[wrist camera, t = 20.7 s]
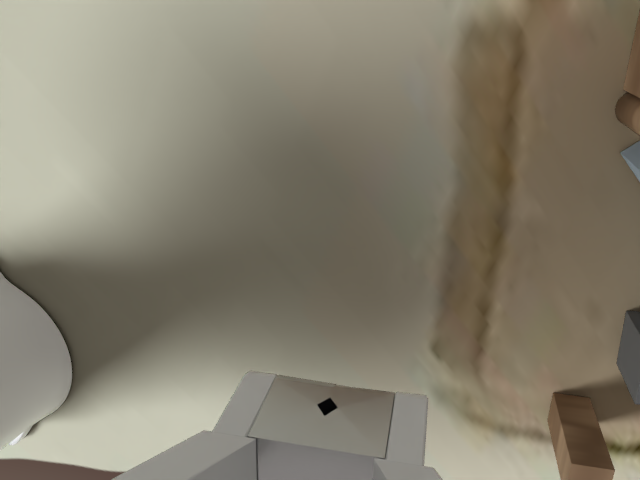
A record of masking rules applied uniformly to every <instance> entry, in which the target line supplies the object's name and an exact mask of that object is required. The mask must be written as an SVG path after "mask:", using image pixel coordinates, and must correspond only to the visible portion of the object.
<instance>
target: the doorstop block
mask: <svg viewBox="0 0 640 480" xmlns="http://www.w3.org/2000/svg"><path fill="white" fill-rule="evenodd" d="M617 366H618V368H619V370H620V372H621V374H622V377H623V379H624V381H625V383H626V385H627V388H628V390H629V392H630V394H631V396H632V399H633V401H634V403H635V404H639V405H640V312H638V311H626V314H625V320H624V325H623V331H622V336H621V342H620V347H619V353H618V358H617Z"/></svg>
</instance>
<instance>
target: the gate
mask: <svg viewBox="0 0 640 480" xmlns="http://www.w3.org/2000/svg"><path fill="white" fill-rule="evenodd" d="M620 153H621V155H622V156H623V158H624V159H625V161H626V162H627V164H628V165H629V167H630V168H631V170H632V171H633V173H634V174H635V176H636V177H637V179H638V180H639V182H640V141H638V142H637V143H635V144H633V145H632V146H630V147H629V148H627V149H625V150H624V151H622V152H620Z"/></svg>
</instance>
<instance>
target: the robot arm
mask: <svg viewBox="0 0 640 480" xmlns="http://www.w3.org/2000/svg"><path fill="white" fill-rule="evenodd" d="M71 382H72V365H71V359H70V355H69V351H68V348H67V346H66V343H65V341H64V339H63V337H62V335H61V333H60V331H59V329H58V328H57V326H56V325H55V323H54V322H53V321H52V319H51V318H50V317H49V315H48V314H47V313H46V312H45V311H44V310H43V309H42V308H41V307H40V306H39V305H38V304H37V303H36V302H35V301H34V300H33V299H32V298H30V297H29V296H28V295H26V294H25V293H24V292H22V291H21V290H19V289H18V288H17V287H15V286H14V285H13V284H11V283H10V282H9V281H8V280H7V279H6V278H5V277H4V276H3V275H2V273H1V272H0V451H1V450H2V449H3V448H4V447H6V446H7V445H14V444H16V443H18V442H19V441H20V440H21V439H23V438H24V437H25V436H26V435H27V434H28V432H29V431H30V429H31V427H32V426H33V425H34V424H35V423H37V422H38V421H40V420H41V419H43V418H44V417H46V416H48V415H49V414H51V413H53V412H54V411H56V410H57V409H58V408H59V407H60V406H61V405H62V404H63V402H64V401H65V399H66V397H67V395H68V393H69V390H70V387H71ZM427 410H428V398H427V396H426V395H420V394H411V393H402V392H396V394H395V393H394V392H386V391H379V390H371V389H364V388H356V387H349V386H341V385H336V384H332V383H326V382H319V381H313V380H307V379H301V378H295V377H289V376H283V375H278V376H277V375H276V374H269V373H262V372H255V371H249V372H247V373H246V374H245V375H244V376H243V378H242V380H241V381H240V383H239V385H238V387H237V388H236V390H235V392H234V394H233V396H232V397H231V399H230V401H229V403H228V404H227V406H226V408H225V410H224V411H223V413H222V415H221V417H220V419H219V420H218V422H217V424H216V426H215V427H214V429H213V431H212V432H211V431H204V430H203V431H202V432H200V433H198V434H196V435H194V436H192V437H190V438H188V439H187V440H185V441H183V442H181V443H179V444H177V445H175V446H173V447H172V448H170V449H168V450H166V451H164V452H162V453H160V454H158V455H157V456H155V457H153V458H151V459H149V460H147V461H145V462H143V463H142V464H140V465H138V466H136V467H134V468H132V469H130V470H128V471H127V472H125V473H123V474H121V475H119V476H117V477H116V478H114V479H112V480H442V478H441V477H440V476H439V474H438V473H437V472H436V470H435V469H434V468H432V467H426V466H424V458H425V442H426V426H427Z"/></svg>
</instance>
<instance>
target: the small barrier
mask: <svg viewBox="0 0 640 480" xmlns="http://www.w3.org/2000/svg"><path fill="white" fill-rule="evenodd" d="M623 90H625V91H627V92H628V93H626V94H624V95H623V96H622V97H621V98H620V99H619V100H618V102H617V104H616V108H615V113H616V117H617V119H618V120H619V121H620V122H621V123H623V124H624V125H625V126H627V127H628V128H630V129H631V130H632V131H634V132H635V133H637V134H638V135H639V136H640V11H639V16H638V21H637V25H636V30H635V35H634V40H633V44H632V49H631V54H630V59H629V63H628V68H627V73H626V78H625V83H624V87H623ZM548 425H549V429H550V434H551V438H552V442H553V447H554V451H555V456H556V460H557V464H558V469H559V473H560V478H561V480H612V479H613V475H614V472H615V469H614V467H613V464H612V461H611V458H610V455H609V452H608V449H607V446H606V444H605V441H604V438H603V435H602V432H601V429H600V426H599V423H598V420H597V418H596V415H595V412H594V409H593V406H592V403H591V400H590V398H588V397H581V396H573V395H566V394H559V393H553V396H552V401H551V406H550V411H549V416H548Z"/></svg>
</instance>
